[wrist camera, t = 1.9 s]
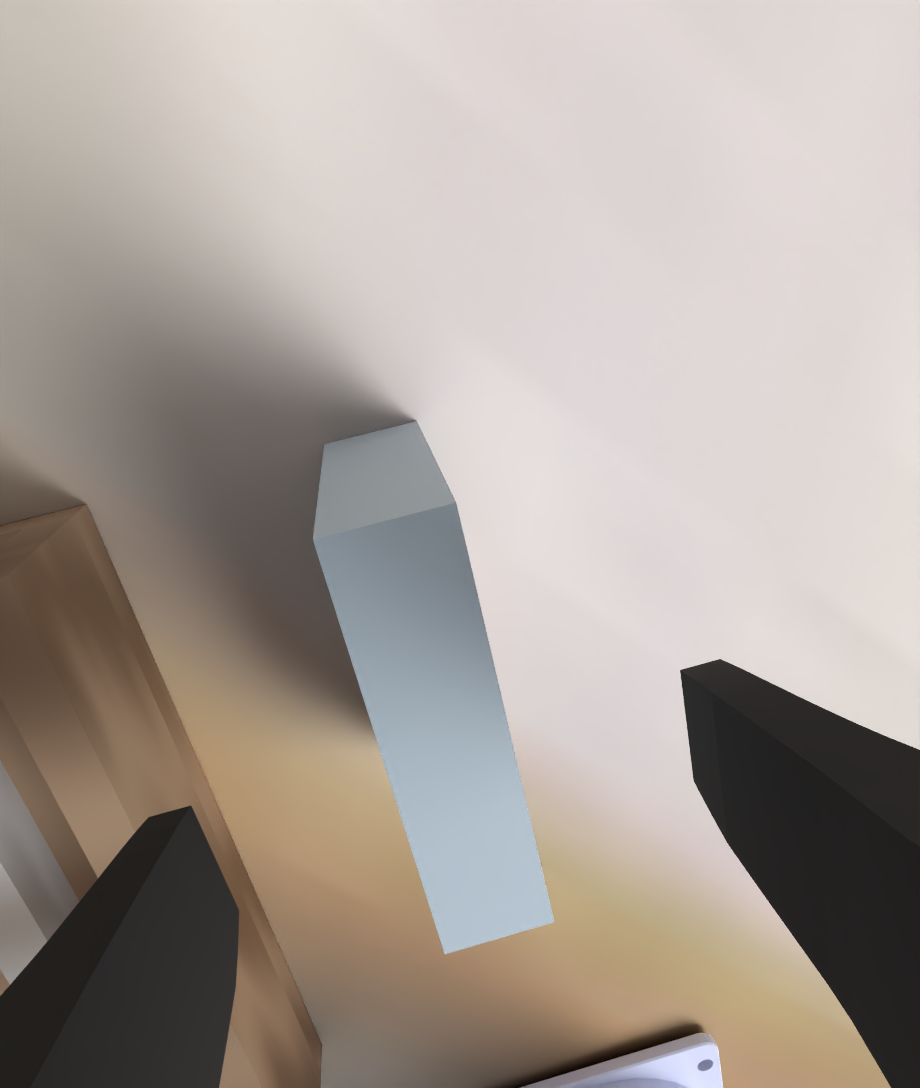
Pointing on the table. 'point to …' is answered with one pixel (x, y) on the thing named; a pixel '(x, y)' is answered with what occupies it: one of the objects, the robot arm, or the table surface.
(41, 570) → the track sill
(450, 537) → the door panel
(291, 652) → the table surface
